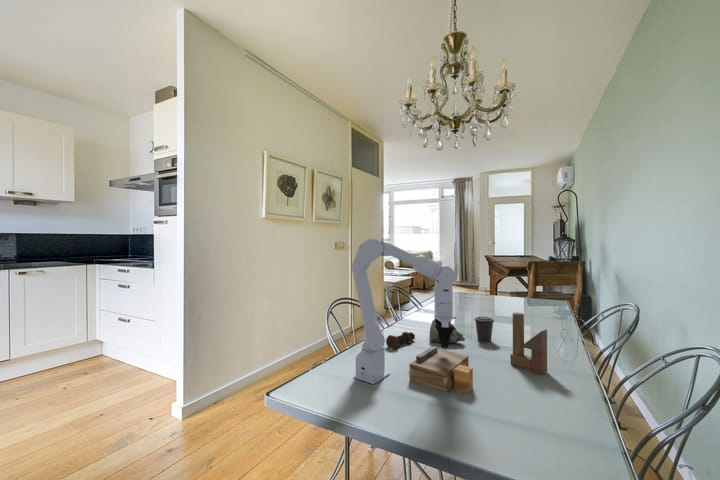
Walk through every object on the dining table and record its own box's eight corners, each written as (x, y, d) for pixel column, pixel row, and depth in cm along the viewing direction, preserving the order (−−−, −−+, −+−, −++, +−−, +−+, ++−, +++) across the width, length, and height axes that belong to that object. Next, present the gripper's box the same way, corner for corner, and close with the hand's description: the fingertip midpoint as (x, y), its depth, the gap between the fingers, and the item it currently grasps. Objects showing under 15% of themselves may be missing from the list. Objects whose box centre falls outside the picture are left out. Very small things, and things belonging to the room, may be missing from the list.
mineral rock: (466, 344, 130) (466, 320, 130) (448, 349, 124) (448, 324, 124) (442, 336, 141) (442, 314, 141) (425, 341, 135) (425, 318, 135)
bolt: (413, 344, 136) (392, 352, 125) (405, 337, 139) (383, 343, 128) (419, 334, 134) (398, 341, 123) (411, 326, 137) (389, 332, 126)
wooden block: (542, 375, 100) (541, 319, 100) (510, 364, 109) (509, 313, 109) (547, 372, 102) (547, 317, 102) (515, 362, 111) (515, 311, 111)
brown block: (468, 393, 89) (467, 372, 89) (454, 389, 91) (454, 368, 91) (472, 388, 92) (472, 368, 92) (459, 384, 94) (459, 364, 94)
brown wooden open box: (446, 391, 90) (446, 378, 90) (409, 380, 97) (409, 367, 97) (468, 371, 104) (468, 359, 104) (434, 362, 111) (434, 351, 111)
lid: (448, 385, 89) (448, 368, 89) (409, 373, 97) (409, 358, 97) (470, 365, 103) (470, 351, 103) (434, 356, 111) (434, 343, 111)
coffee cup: (470, 339, 137) (470, 316, 137) (483, 336, 141) (483, 314, 141) (484, 344, 130) (484, 320, 130) (498, 341, 133) (498, 318, 133)
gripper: (458, 307, 94) (459, 352, 94) (454, 298, 109) (454, 337, 109) (434, 306, 96) (435, 350, 96) (433, 297, 110) (433, 336, 110)
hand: (443, 343), depth 102 cm, fingers open, 7 cm apart
